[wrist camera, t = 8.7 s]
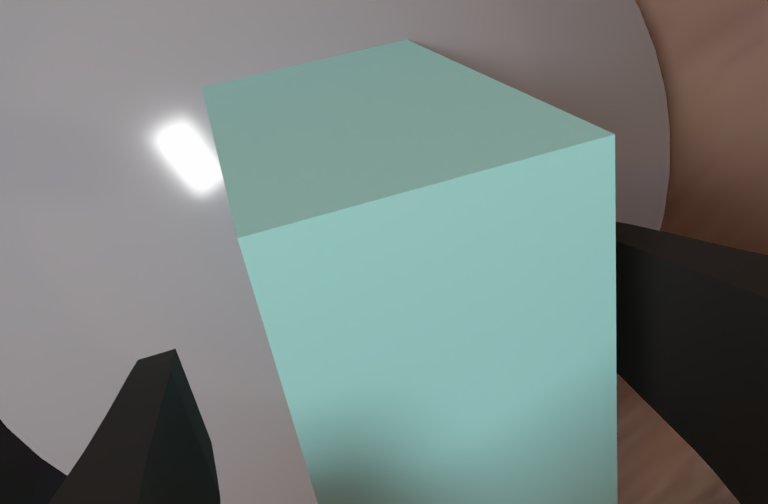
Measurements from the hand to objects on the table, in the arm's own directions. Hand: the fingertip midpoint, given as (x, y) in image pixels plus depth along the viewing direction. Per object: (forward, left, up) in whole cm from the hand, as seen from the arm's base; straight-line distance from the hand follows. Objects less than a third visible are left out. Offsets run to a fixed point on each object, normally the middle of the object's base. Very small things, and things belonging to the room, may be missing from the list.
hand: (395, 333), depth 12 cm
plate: (0, 0, -5) cm, 5 cm away
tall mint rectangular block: (0, 0, -3) cm, 3 cm away
